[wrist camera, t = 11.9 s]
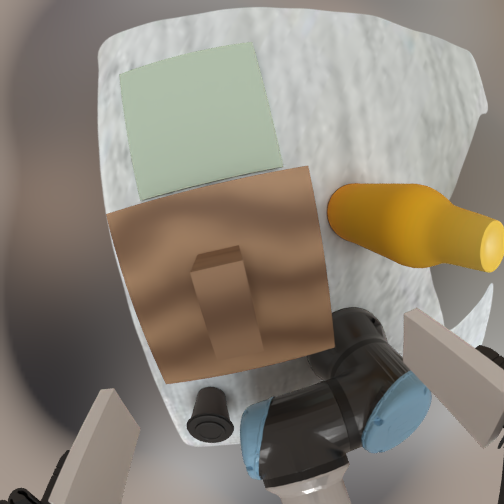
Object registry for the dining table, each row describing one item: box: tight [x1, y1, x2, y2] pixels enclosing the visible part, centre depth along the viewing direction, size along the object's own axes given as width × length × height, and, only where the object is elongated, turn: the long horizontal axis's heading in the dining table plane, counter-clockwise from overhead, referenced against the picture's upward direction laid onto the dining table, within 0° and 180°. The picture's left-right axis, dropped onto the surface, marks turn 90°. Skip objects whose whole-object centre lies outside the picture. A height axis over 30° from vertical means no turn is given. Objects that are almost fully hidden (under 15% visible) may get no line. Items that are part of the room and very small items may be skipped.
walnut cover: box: [106, 166, 335, 384], centre depth 25 cm, size 20×20×8 cm
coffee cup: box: [187, 387, 234, 443], centre depth 44 cm, size 8×8×10 cm
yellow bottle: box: [327, 183, 504, 272], centre depth 30 cm, size 9×9×29 cm
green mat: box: [119, 42, 283, 201], centre depth 38 cm, size 22×22×1 cm
